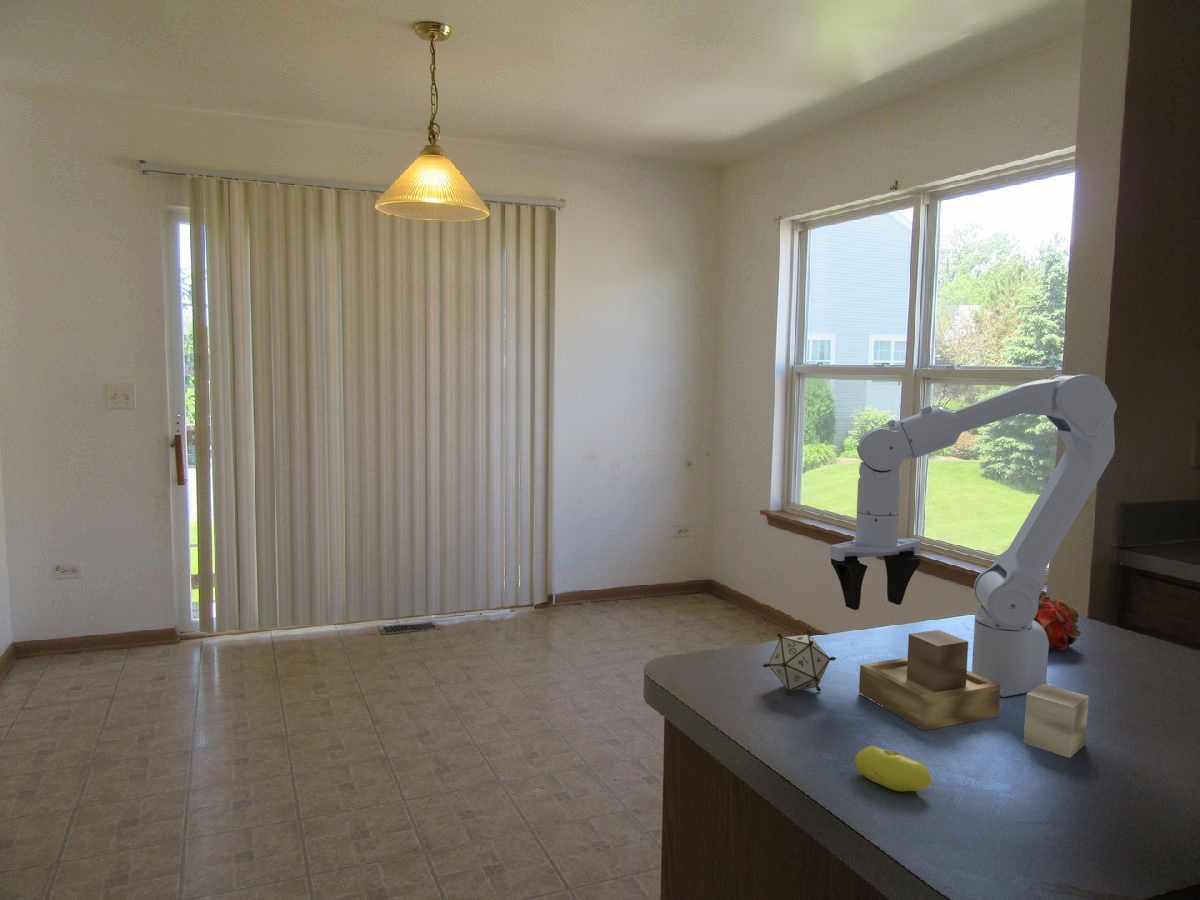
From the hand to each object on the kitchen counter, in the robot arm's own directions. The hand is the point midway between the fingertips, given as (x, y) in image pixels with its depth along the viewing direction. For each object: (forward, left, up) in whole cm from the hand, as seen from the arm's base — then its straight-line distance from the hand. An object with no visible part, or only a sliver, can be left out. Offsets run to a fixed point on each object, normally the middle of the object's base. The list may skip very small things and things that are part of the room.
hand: (873, 605), depth 117 cm
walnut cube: (+1, +13, -6) cm, 15 cm away
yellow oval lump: (+20, +27, -10) cm, 35 cm away
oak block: (+1, +12, -10) cm, 16 cm away
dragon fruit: (-34, +1, -10) cm, 36 cm away
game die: (+14, +2, -10) cm, 17 cm away
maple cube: (-5, +26, -10) cm, 28 cm away
